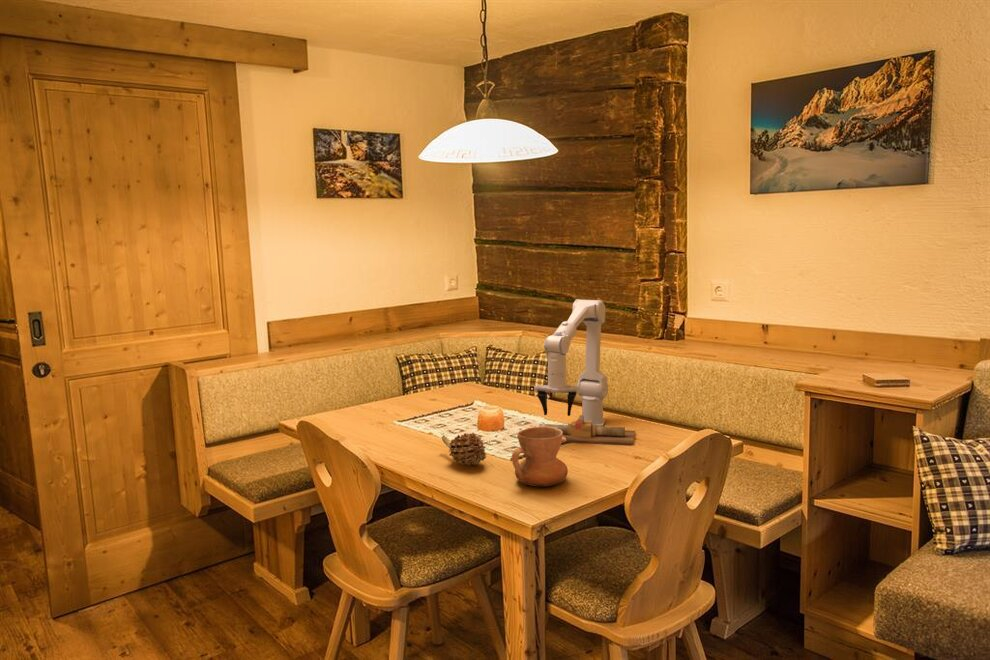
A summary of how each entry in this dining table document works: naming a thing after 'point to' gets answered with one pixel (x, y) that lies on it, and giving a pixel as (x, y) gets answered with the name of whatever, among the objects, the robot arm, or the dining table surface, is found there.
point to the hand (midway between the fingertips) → (557, 414)
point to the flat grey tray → (594, 434)
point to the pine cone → (466, 449)
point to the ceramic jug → (539, 457)
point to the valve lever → (579, 422)
